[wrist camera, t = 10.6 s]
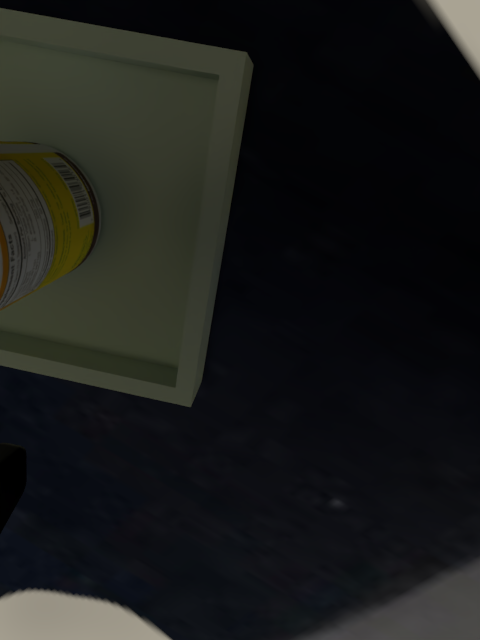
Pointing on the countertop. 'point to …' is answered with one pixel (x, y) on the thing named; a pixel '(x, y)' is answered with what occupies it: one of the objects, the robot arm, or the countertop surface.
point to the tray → (127, 198)
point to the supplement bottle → (42, 218)
